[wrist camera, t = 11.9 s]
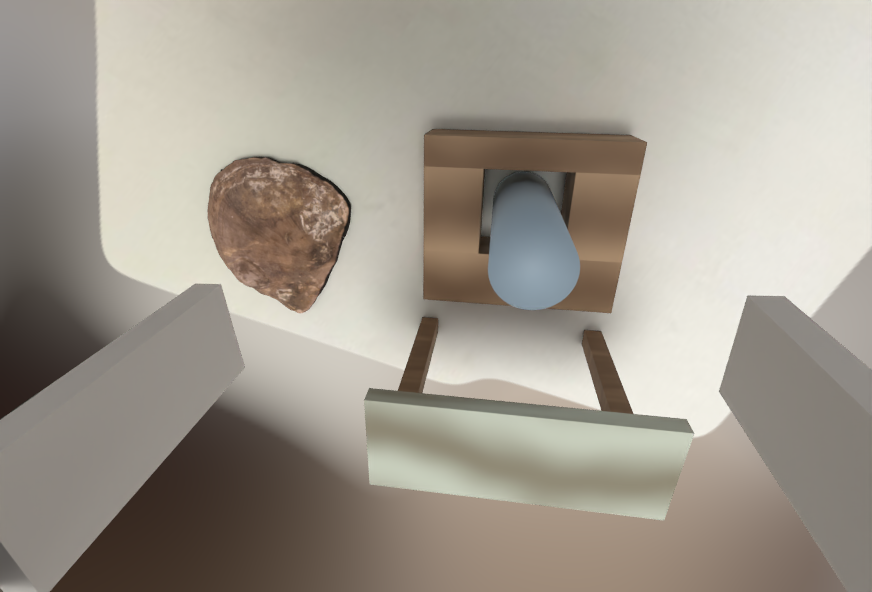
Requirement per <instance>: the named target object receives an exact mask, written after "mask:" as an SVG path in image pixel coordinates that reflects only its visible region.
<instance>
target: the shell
mask: <svg viewBox="0 0 872 592" xmlns="http://www.w3.org/2000/svg"><path fill="white" fill-rule="evenodd" d="M350 217H351V206H350V202H349V200H348V199H347V197H346V196H345V194H344V193H343V192H342V191H341V190H340V189H339V188H338V187H337V186H336V185H335V184H334V183H332V182H331V181H329V180H328V179H326V178H324V177H322V176H321V175H319V174H317V173H316V172H314V171H313V170H311V169H309V168H308V167H305V166H303V165H300V164H289V163H280V162H278V161H276V160H273V159H271V158H266V157H252V158H246V159H241V160H235V161H233V163H231V164H230V165H228V166H227V167H226V168H225V169H223V170H222V169H221V172H219V173H218V174H217V175H216V176H215V178H214V180H213V182H212V184H211V187H210V196H209V203H208V220H209V226H210V231H211V234H212V238H213V239H214V242H215V245H216V248H217V250H218V253H219V255H220V257H221V258H222V260H223V261H224V262H225V264H226V266H227V267H228V268H229V269H230V270H231V271H232V273H233V274H234V275H235V277H236V278H237V279H238V280H239V281H240V282H241V283H243V284H245V285H246V286H249V287H252V288H254V289H255V290H257V291H258V292H259V293H261V294H264V295H268V296H270V297H272V298H275V299H277V300H278V301H279V302H281V303H282V304H283V305H285V306H286V307H287V308H289V309H290V310H293V311H296V312H298V313H303V312H306V311H307V310H308V309H310V307H311V306H312V304H313V303H314V302H315V300H316V297H317V296H318V295H319V294H320V293H321V292H322V290H323V289H324V287H325V285H326V283H327V281H328V278H329V276H330V273H331V271H332V269H333V267H334V265H335V264H336V262H337V259H338V255H339V252H340V248H341V245H342V241H343V239H344V238H343V239H341V237H345V236H346V234H347V231H348V228H349V224H350Z"/></svg>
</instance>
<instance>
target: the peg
mask: <svg viewBox="0 0 872 592" xmlns="http://www.w3.org/2000/svg"><path fill="white" fill-rule="evenodd" d="M579 274H580V260H579V256H578V253H577V250H576V248H575V246H574V243H573V241H572V239H571V236H570V234H569V232H568V229H567V227H566V225H565V222H564V220H563V218H562V215H561V213H560V211H559V209H558V206H557V204H556V202H555V199H554V197H553V195H552V192H551V190H550V188H549V186H548V184H547V183H546V181H545V180H544V179H543V178H542V177H540V176H539V175H537V174H534V173H531V172H517V173H513V174H511V175H509V176H507V177H506V178H505V179H503V180H502V181H501V182H500V184H499V185H498V187H497V188H496V191H495V194H494V199H493V211H492V224H491V236H490V249H489V262H488V275H489V280H490V283H491V286H492V288H493V289H494V291H495V292H496V294H497V295H498V296H499V297H500V298H501V299H502V300H503V301H505V302H506V303H508V304H510V305H512V306H514V307H517V308H520V309H525V310H540V309H545V308H548V307H551V306H553V305H555V304H557V303H559V302H561V301H562V300H563V299H565V298H566V297H567V296H568V295H569V294H570V293H571V291H572V290H573V289H574V287H575V285H576V283H577V281H578V278H579Z"/></svg>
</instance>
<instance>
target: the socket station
mask: <svg viewBox="0 0 872 592" xmlns="http://www.w3.org/2000/svg"><path fill="white" fill-rule="evenodd" d="M646 146H647V142H645V141H643V140H641V139H638V138H636V137H634V136H632V135H609V134H577V133H545V132H513V131H481V130H449V129H432V130H431V131H429V132H428V133H426V134H425V135H424V284H423V299H427V300H440V301H454V302H467V303H481V304H494V305H508V306H512V305H510V304H508V303H506V302H505V301H503V300H502V299H501V298H500V297H499V296H498V295H497V294H496V292H495V291H494V289H493V288H492V286H491V283H490V280H489V275H488V262H489V249H490V237H483V236H481V225H482V209H483V193H484V177H485V169H501V170H525V171H550V172H567V174H566V181H565V188H564V196H563V203H562V210H561V215H562V218H563V220H564V222H565V225H566V227H567V229H568V232H569V234H570V236H571V239H572V241H573V243H574V246H575V248H576V250H577V253H578V256H579V260H580V274H579V278H578V281H577V283H576V285H575V287H574V289H573V290H572V291H571V293H570V294H569V295H568V296H567V297H566V298H565V299H563V300H562V301H561V302H559V303H557V304H555V305H553V306H551V307H548V309H561V310H575V311H588V312H602V313H611V312H612V307H613V302H614V297H615V293H616V288H617V283H618V278H619V274H620V269H621V264H622V259H623V255H624V250H625V245H626V241H627V236H628V231H629V226H630V222H631V217H632V212H633V207H634V203H635V198H636V193H637V188H638V184H639V179H640V174H641V169H642V165H643V160H644V155H645V151H646ZM437 334H438V318H425V317H422V320H421V323H420V326H419V329H418V332H417V335H416V338H415V341H414V344H413V347H412V350H411V353H410V356H409V359H408V362H407V365H406V368H405V371H404V374H403V377H402V380H401V383H400V386H399V389H398V391H393V390H383V389H373V388H369V390H368V392H367V395H366V397H365V399H364V405H365V420H366V436H367V450H368V465H369V481H370V484H372V485H380V486H389V487H396V488H404V489H413V490H421V491H429V492H437V493H445V494H454V495H462V496H470V497H478V498H486V499H494V500H502V501H511V502H518V503H527V504H535V505H543V506H551V507H560V508H567V509H576V510H584V511H592V512H600V513H608V514H616V515H625V516H633V517H641V518H649V519H657V520H664V519H665V516H666V513H667V510H668V507H669V504H670V502H671V499H672V496H673V493H674V490H675V487H676V485H677V482H678V479H679V476H680V473H681V470H682V467H683V464H684V461H685V459H686V456H687V453H688V450H689V447H690V444H691V441H692V439H693V436H694V432H693V430H692V429H691V427H690V425H689V423H688V421H687V419H678V418H668V417H658V416H648V415H638V414H633V412H632V409H631V407H630V404H629V401H628V399H627V396H626V394H625V391H624V389H623V386H622V383H621V381H620V378H619V376H618V373H617V371H616V368H615V365H614V363H613V360H612V358H611V355H610V353H609V350H608V347H607V345H606V342H605V340H604V337H603V335H602V332H601V331H590V330H584V335H583V340H582V347H583V350H584V353H585V357H586V360H587V363H588V367H589V370H590V373H591V377H592V380H593V384H594V387H595V390H596V394H597V397H598V400H599V404H600V407H601V410H602V411H597V410H586V409H576V408H566V407H556V406H546V405H536V404H526V403H515V402H505V401H495V400H485V399H474V398H464V397H454V396H444V395H433V394H423V393H422V392H423V388H424V384H425V380H426V377H427V373H428V369H429V365H430V361H431V357H432V353H433V349H434V345H435V341H436V338H437Z"/></svg>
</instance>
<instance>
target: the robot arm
mask: <svg viewBox="0 0 872 592" xmlns="http://www.w3.org/2000/svg"><path fill="white" fill-rule="evenodd" d="M244 368H245V366H244V362H243V359H242V355H241V352H240V349H239V345H238V342H237V338H236V335H235V331H234V328H233V325H232V321H231V318H230V314H229V311H228V307H227V304H226V300H225V297H224V293H223V290H222V286H221V284H194V285H193V286H191V287H190V288H188V289H187V290H186V291H184V292H183V293H181V294H180V295H178V296H177V297H176V298H174V299H173V300H171V301H170V302H169V303H167V304H166V305H164V306H163V307H161V308H160V309H158V310H157V311H156V312H154V313H153V314H151V315H150V316H149V317H147V318H146V319H144V320H143V321H141V322H140V323H138V324H137V325H135V326H134V327H133V328H131V329H130V330H128V331H127V332H125V333H124V334H123V335H121V336H120V337H118V338H117V339H115V340H114V341H113V342H111V343H110V344H108V345H107V346H105V347H104V348H103V349H101V350H100V351H98V352H97V353H96V354H94V355H93V356H91V357H90V358H88V359H87V360H85V361H84V362H82V363H81V364H80V365H78V366H77V367H75V368H74V369H72V370H71V371H70V372H68V373H67V374H65V375H64V376H63V377H61V378H60V379H58V380H57V381H56V382H54V383H52V384H51V385H50V386H48V387H47V388H45V389H44V390H42V391H41V392H39V393H37V394H36V395H34V396H33V397H31V398H30V399H28V400H27V401H25V402H24V403H23V404H21V405H20V406H18V407H17V408H15V409H14V410H12V411H11V413H9V414H8V415H5V416H4V417H2V418H1V419H0V588H1V589H2V590H3V592H49V591H50V590H51V589H52V588H53V587H54V586H55V584H56V583H57V582H58V581H59V580H60V579H61V578H62V576H63V575H64V574H65V573H66V572H67V571H68V570H69V569H70V567H71V566H72V565H73V564H74V563H75V561H76V560H77V559H78V558H79V557H80V556H81V555H82V553H83V552H84V551H85V550H86V549H87V548H88V547H89V546H90V544H91V543H92V542H93V541H94V540H95V539H96V538H97V536H98V535H99V534H100V533H101V532H102V531H103V530H104V528H105V527H106V526H107V525H108V524H109V523H110V522H111V520H112V519H113V518H114V517H115V516H116V515H117V513H118V512H119V511H120V510H121V509H122V508H123V507H124V505H125V504H126V503H127V502H128V501H129V500H130V499H131V497H132V496H133V495H134V494H135V493H136V492H137V491H138V489H139V488H140V487H141V486H142V485H143V484H144V483H145V481H146V480H147V479H148V478H149V477H150V476H151V475H152V473H153V472H154V471H155V470H156V469H157V468H158V467H159V465H160V464H161V463H162V462H163V461H164V460H165V458H166V457H167V456H168V455H169V454H170V453H171V452H172V450H173V449H174V448H175V447H176V446H177V445H178V444H179V442H180V441H181V440H182V439H183V438H184V437H185V435H186V434H187V433H188V432H189V431H190V430H191V429H192V428H193V426H194V425H195V424H196V423H197V422H198V421H199V420H200V418H201V417H202V416H203V415H204V414H205V412H206V411H207V410H208V409H209V408H210V407H211V406H212V405H213V403H214V402H215V401H216V400H217V399H218V398H219V397H220V395H221V394H222V393H223V392H224V391H225V390H226V389H227V387H228V386H229V385H230V384H231V383H232V382H233V381H234V379H235V378H236V377H237V376H238V375H239V374H240V373H241V371H242V370H243V369H244ZM719 392H720V394H721V395H722V397H723V399H724V400H725V402H726V403H727V405H728V406H729V408H730V410H731V411H732V413H733V414H734V416H735V417H736V419H737V420H738V422H739V424H740V425H741V427H742V428H743V429H744V431H745V433H746V434H747V436H748V437H749V439H750V441H751V442H752V444H753V445H754V447H755V448H756V450H757V451H758V453H759V455H760V456H761V458H762V459H763V461H764V463H765V464H766V466H767V467H768V469H769V470H770V472H771V473H772V475H773V477H774V478H775V480H776V481H777V483H778V484H779V486H780V487H781V489H782V491H783V492H784V494H785V495H786V497H787V498H788V500H789V501H790V503H791V505H792V506H793V508H794V509H795V511H796V512H797V514H798V515H799V517H800V519H801V520H802V522H803V523H804V525H805V526H806V528H807V530H808V531H809V532H810V534H811V536H812V537H813V539H814V540H815V542H816V543H817V545H818V546H819V548H820V550H821V551H822V553H823V555H824V556H825V558H826V559H827V561H828V562H829V564H830V565H831V567H832V568H833V570H834V571H835V573H836V575H837V576H838V578H839V579H840V581H841V583H842V584H843V586H844V587H845V589H846V590H847V592H872V370H871V369H870V368H869V367H867V366H866V365H865V364H864V363H863V362H862V361H860V360H859V359H858V358H857V357H856V356H855V355H853V354H852V353H851V352H850V351H849V350H848V349H846V348H845V347H844V346H843V345H842V344H840V343H839V342H838V341H837V340H836V339H834V338H833V337H832V336H831V335H829V334H828V333H827V332H826V331H825V330H824V329H823V328H821V327H820V326H819V325H818V324H817V323H815V322H814V321H813V320H812V319H811V318H810V317H808V316H807V315H806V314H805V313H804V312H802V311H801V310H800V309H799V308H798V307H796V306H795V305H794V304H793V303H792V302H791V301H789V300H788V299H787V298H786V297H785V296H747V299H746V302H745V306H744V309H743V313H742V316H741V319H740V323H739V326H738V329H737V333H736V336H735V339H734V343H733V346H732V350H731V353H730V356H729V360H728V363H727V366H726V370H725V373H724V376H723V380H722V383H721V387H720V390H719Z"/></svg>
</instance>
